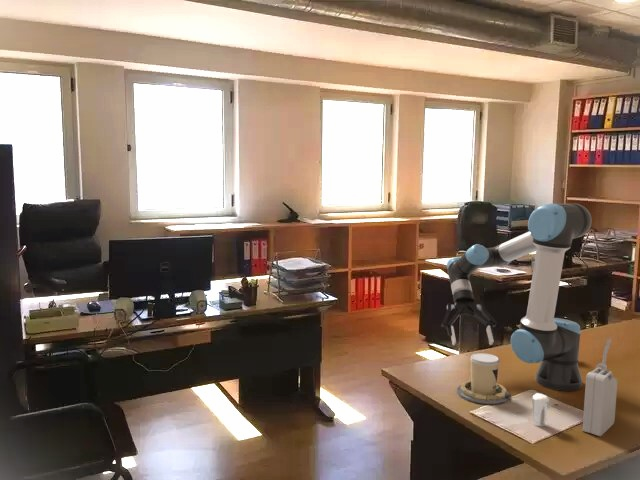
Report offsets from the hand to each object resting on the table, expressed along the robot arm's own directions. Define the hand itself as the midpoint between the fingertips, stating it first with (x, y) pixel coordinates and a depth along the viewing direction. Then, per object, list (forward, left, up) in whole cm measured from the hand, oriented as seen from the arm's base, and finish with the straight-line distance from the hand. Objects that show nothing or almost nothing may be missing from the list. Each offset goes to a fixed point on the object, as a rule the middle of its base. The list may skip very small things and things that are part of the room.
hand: (473, 343), depth 197 cm
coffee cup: (-6, +13, -12) cm, 19 cm away
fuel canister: (-41, +22, -13) cm, 48 cm away
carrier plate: (-6, +13, -13) cm, 19 cm away
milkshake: (-24, +29, -13) cm, 40 cm away
